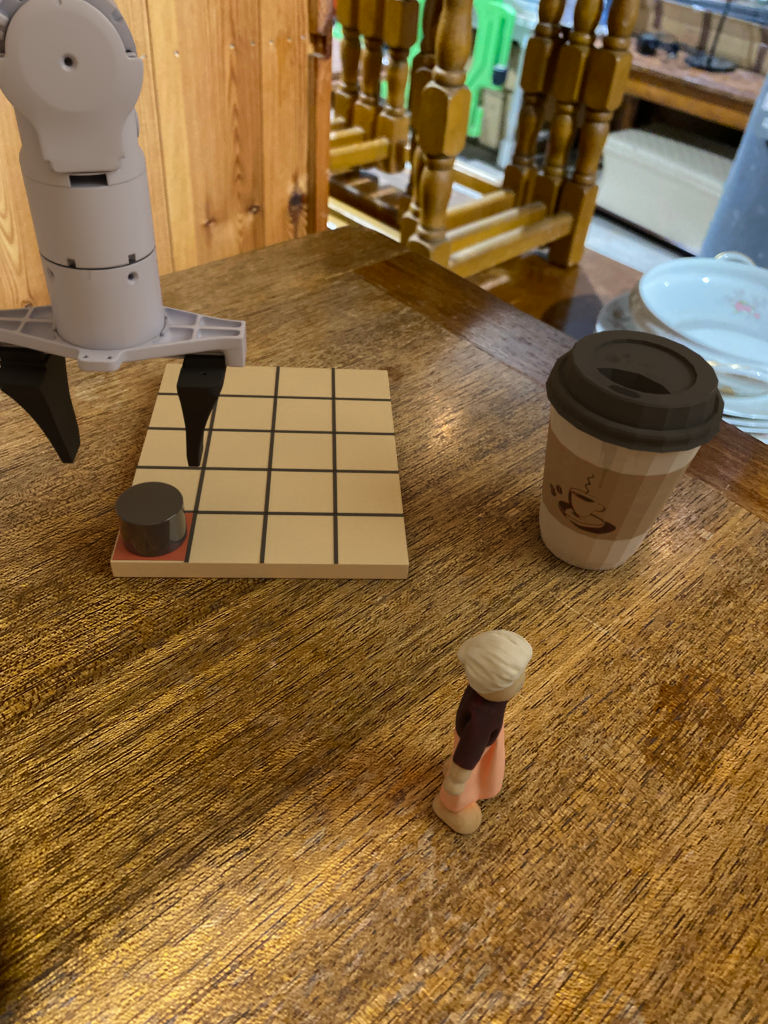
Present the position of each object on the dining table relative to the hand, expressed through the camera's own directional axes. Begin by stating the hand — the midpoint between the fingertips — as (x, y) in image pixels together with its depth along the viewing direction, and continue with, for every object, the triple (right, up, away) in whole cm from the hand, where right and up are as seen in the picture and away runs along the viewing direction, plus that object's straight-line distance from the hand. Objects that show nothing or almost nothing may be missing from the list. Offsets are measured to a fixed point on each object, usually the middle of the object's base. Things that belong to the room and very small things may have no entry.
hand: (134, 455), depth 49 cm
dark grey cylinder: (0, -5, +5) cm, 7 cm away
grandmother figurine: (+20, -19, -6) cm, 28 cm away
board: (+7, 0, +14) cm, 15 cm away
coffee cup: (+31, -6, +10) cm, 33 cm away
